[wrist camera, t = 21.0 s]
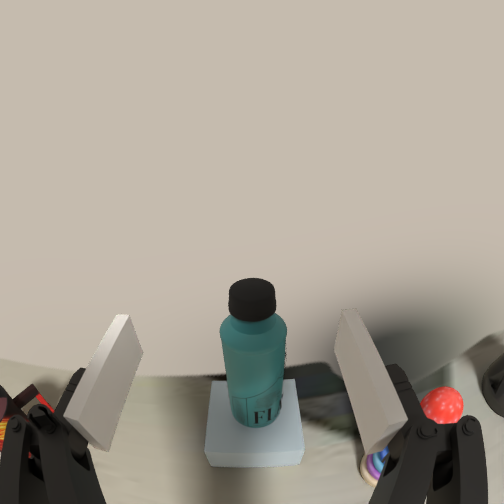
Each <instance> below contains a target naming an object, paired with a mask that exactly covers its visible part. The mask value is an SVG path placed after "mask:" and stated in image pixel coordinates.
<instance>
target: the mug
mask: <svg viewBox="0 0 504 504" xmlns="http://www.w3.org/2000/svg"><path fill="white" fill-rule="evenodd" d="M35 396H36V398H37V399H38V400H39V401H40V403H41V404H44V405H46V406H47V407H48V408H49V409H50V410H51V411H52V412H53V413H54V410H53V409H52V407H51V406H50V405H49V404H48V403H47V402H46V401H45V399H44V398H43V397H42V396H41V394H40V393H39V392H38V390H37V389H36V388H35V386H34V385H33V384H31V385H30V386H29V387H27V388H26V389H25V390H24V391H22V392H21V393H20V394H19V395H17V396H16V397H15V398H14V399H12V398H11V397H10V396H9V394H8V393H7V392H6V391H5V389H4V388H3V387H2V386H1V385H0V452H2V446H3V440H4V435H5V430H6V425H7V422H8V420H9V419H10V417H12V416H13V415H21V416H22V417H23V418H24V419H25V420H26V421H28V422H30V421H29V420H28V419H27V416H26V414H25V413H24V412H23V411H22V410H21V408H22V407H23V406H24V405H26V404H27V403H28V402H29V401H31V400H32V399H33V398H34V397H35ZM29 458H31V453H30V452H29Z"/></svg>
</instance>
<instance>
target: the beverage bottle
mask: <svg viewBox="0 0 504 504" xmlns="http://www.w3.org/2000/svg"><path fill="white" fill-rule="evenodd" d="M228 304H229V305H228V306H229V312H230V315H229V316H228V317H227V318H226V319H225V320H224V321H223V323H222V324H221V327H220V337H221V340H222V347H223V354H224V362H225V369H226V375H227V381H226V382H227V384H228V387H227V388H228V393H229V395H228V396H229V399H230V405H231V411H232V414H233V416H234V418H235V420H236V421H238V422H239V423H240V424H242V425H244V426H246V427H250V428H262V427H265V426H268V425H270V424H271V423H272V422H274V421H275V419H276V418H277V417H279V416H278V415H279V413H280V410H282V409H281V407H282V405H281V404H282V403H281V401H282V400H281V398H282V397H283V394H282V386H283V376H284V375H285V374H284V362H285V361H284V360H285V356H286V355H285V354H286V353H285V342H286V335H287V327H286V324H285V322H284V321H283V319H282V318H281V317H280V316H279V315H277V314H276V313H275V311H276V299H275V289H274V286H273V285H272V284H271V283H270V282H268V281H266V280H263V279H259V278H247V279H243V280H239V281H237V282H235V283H234V284H233V285H232V286H231V287H230V290H229V303H228ZM285 368H286V367H285ZM283 374H284V375H283Z"/></svg>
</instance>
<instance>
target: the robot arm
mask: <svg viewBox="0 0 504 504" xmlns="http://www.w3.org/2000/svg"><path fill="white" fill-rule="evenodd" d="M334 351H335V354H336V357H337V360H338V363H339V366H340V370H341V372H342V376H343V379H344V382H345V385H346V389H347V392H348V395H349V398H350V402H351V405H352V408H353V412H354V415H355V418H356V422H357V425H358V429H359V432H360V436H361V440H362V443H363V447H364V451H365V454H366V455H369V454H373V453H376V452H380V451H383V450H384V448H385V447H386V446H388V449H389V452H388V454H387V455H386V456H385V457H384V458H383V459H382V461H381V462H382V463H383V462H384V461H385V463H384V466H383V469H382V472H381V474H380V477H379V480H378V482H377V485H376V487H375V490H374V492H373V494H372V497H371V499H370V501H369V504H424V502H425V499H426V496H427V501H426V504H488V482H487V467H486V457H485V449H484V442H483V436H482V430H481V425H480V423H479V421H478V420H477V419H476V418H475V417H473V416H469V415H466V416H463V417H462V418H461V419H460V420H459V421H458V422H457V423H447V424H437V423H436V422H435V421H434V420H432V419H429V418H427V417H426V415H425V413H424V411H423V409H422V407H421V405H420V403H419V401H418V398H417V396H416V394H415V392H414V390H413V389H412V386H411V384H410V382H408V378H407V376H406V374H405V372H404V371H403V370H402V369H401V368H400V367H399V366H398V365H397V364H392V365H387V366H384V364H383V362H382V360H381V357H380V355H379V353H378V351H377V349H376V347H375V345H374V343H373V341H372V339H371V337H370V335H369V333H368V331H367V329H366V327H365V325H364V323H363V321H362V319H361V317H360V315H359V313H358V311H357V310H356V309H346V310H342V311H341V317H340V322H339V327H338V332H337V338H336V342H335V347H334ZM142 355H143V350H142V348H141V345H140V343H139V340H138V338H137V335H136V332H135V330H134V327H133V324H132V321H131V318H130V315H118V314H117V315H116V317H115V319H114V320H113V322H112V324H111V325H110V327H109V329H108V331H107V332H106V334H105V336H104V337H103V339H102V341H101V343H100V345H99V346H98V348H97V350H96V352H95V354H94V355H93V357H92V359H91V361H90V363H89V365H88V367H87V368H86V369H85V368H80V369H79V370H77V371H76V372H75V373H74V374H73V376H72V378H71V380H70V381H69V384H68V385H67V387H66V391H64V393H63V395H62V397H61V399H60V401H59V403H58V405H57V407H56V409H55V411H54V413H53V412H52V411H51V410H50V409H49V408H48V407H47V406H46V405H44V404H37V405H34V406H33V407H32V408H31V409H30V410H29V412H28V414H27V419H28V420H29V421H30V422H28V421H26V420H25V419H24V418H23V417H22V416H21V415H13V416H12V417H10V419H9V420H8V422H7V425H6V430H5V435H4V440H3V446H2V452H1V459H0V504H106V502H105V499H104V496H103V494H102V491H101V488H100V485H99V482H98V479H97V475H96V472H95V469H94V465H93V462H92V458H91V454H90V451H89V449H88V448H87V445H88V442H89V443H90V444H91V445H92V446H93V447H94V448H96V449H100V450H103V451H106V452H109V449H110V446H111V443H112V440H113V436H114V433H115V430H116V427H117V424H118V421H119V418H120V415H121V412H122V409H123V406H124V403H125V401H126V398H127V395H128V392H129V389H130V387H131V384H132V381H133V379H134V376H135V373H136V371H137V368H138V365H139V363H140V360H141V358H142ZM482 388H483V393H484V396H485V399H486V401H487V403H488V404H489V406H490V407H491V408H492V409H493V410H494V411H495V412H496V413H497V414H499V415H500V416H502V417H504V353H503V354H502V355H501V356H500V357H499V358H498V359H497V360H496V361H495V362H493V363H492V364H491V366H490V367H489V369H488V370H487V372H486V373H485V375H484V377H483V382H482ZM29 452H30V453H31V458H29Z"/></svg>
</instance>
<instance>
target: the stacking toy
mask: <svg viewBox="0 0 504 504" xmlns="http://www.w3.org/2000/svg"><path fill="white" fill-rule="evenodd" d="M420 405H421V407H422V409H423V411H424V413H425V415H426V417H427V418H429V419H432V420H434V421H435V422H436V423H437V424H447V423H457V422H458V421H459V419H460V417H461V415H462V412H463V399H462V397H461V395H460V394H459V392H458V391H457V390H455V389H453V388H451V387H439V388H436V389H434V390H432V391H431V392H429V393H428V394H427V395H426V396H425V397H424V398H423V400H422V401H421V403H420ZM388 452H389V449H388V446H386V447H385V448H384V450H383V451H380V452H376V453H373V454H369V455H366V454H364V456H363V458H362V460H361V464H360V471H361V475H362V477H363V479H364V480H365V481H366V482H367V483H368V484H369V485H371V486H373V487H376V485H377V482H378V480H379V477H380V474H381V472H382V469H383V466H384V463H385V461H384V462H383V463H382V462H381V461H382V459H383V458H384V457H385V456H386V455H387V454H388Z"/></svg>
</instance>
